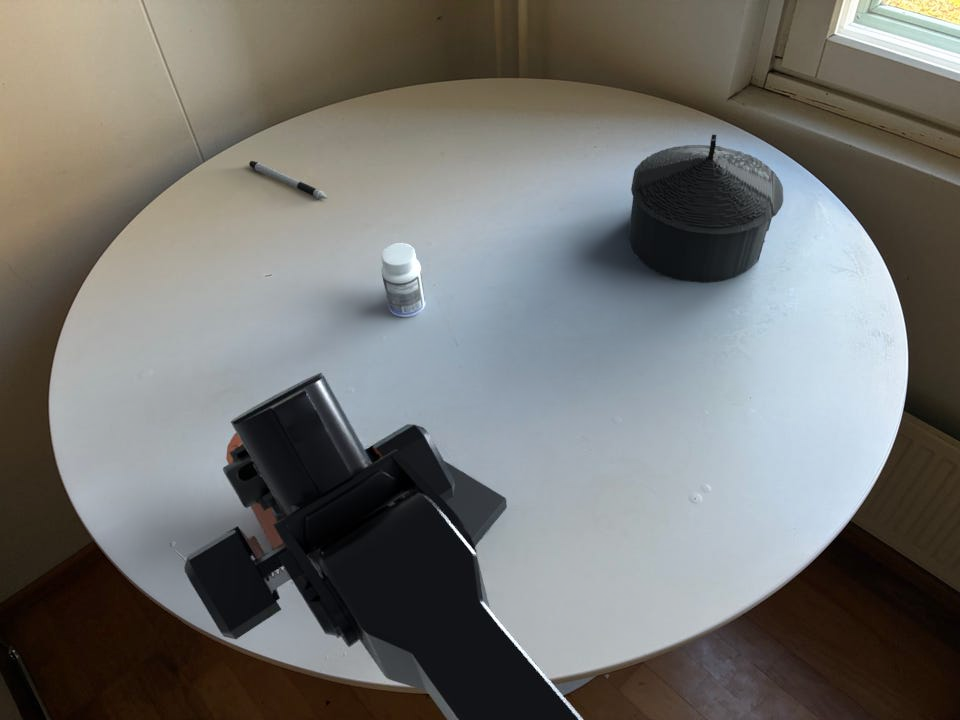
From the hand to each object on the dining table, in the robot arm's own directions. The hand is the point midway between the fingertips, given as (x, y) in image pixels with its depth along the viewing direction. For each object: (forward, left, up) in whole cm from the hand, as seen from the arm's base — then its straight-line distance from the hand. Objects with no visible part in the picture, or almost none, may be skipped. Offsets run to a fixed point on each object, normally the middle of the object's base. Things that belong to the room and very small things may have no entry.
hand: (306, 510), depth 62 cm
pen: (+42, +51, -13) cm, 67 cm away
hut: (+63, -5, -13) cm, 65 cm away
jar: (+2, +7, -13) cm, 15 cm away
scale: (+9, -3, -13) cm, 16 cm away
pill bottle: (+32, +19, -13) cm, 39 cm away
